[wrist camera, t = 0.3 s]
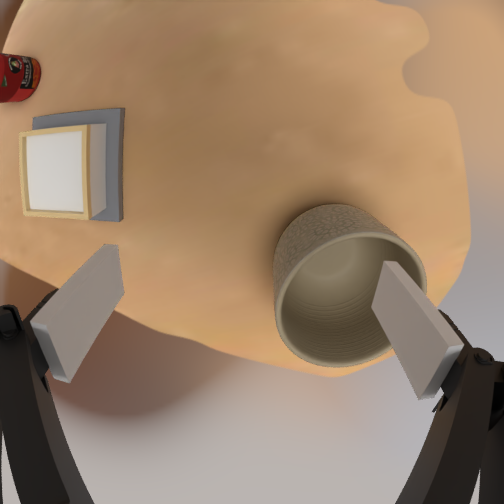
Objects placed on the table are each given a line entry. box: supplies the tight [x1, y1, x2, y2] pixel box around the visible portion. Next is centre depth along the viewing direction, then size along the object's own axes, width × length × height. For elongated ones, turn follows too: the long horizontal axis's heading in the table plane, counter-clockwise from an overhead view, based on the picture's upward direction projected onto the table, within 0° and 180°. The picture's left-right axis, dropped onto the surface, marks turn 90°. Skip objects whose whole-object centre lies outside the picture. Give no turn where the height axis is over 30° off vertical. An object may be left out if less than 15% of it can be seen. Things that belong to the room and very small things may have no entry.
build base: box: [19, 108, 125, 222], centre depth 35 cm, size 16×16×7 cm
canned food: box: [0, 53, 41, 103], centre depth 27 cm, size 8×8×11 cm
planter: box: [273, 204, 427, 367], centre depth 37 cm, size 17×17×15 cm
